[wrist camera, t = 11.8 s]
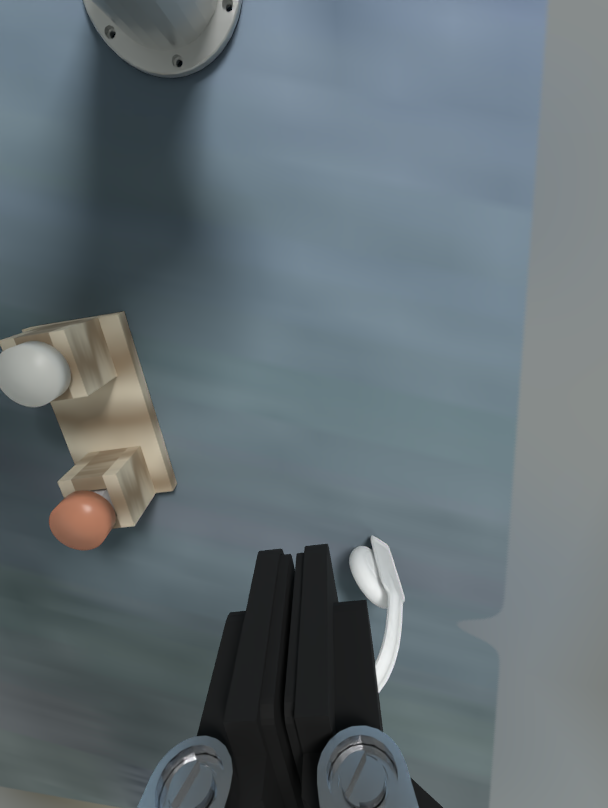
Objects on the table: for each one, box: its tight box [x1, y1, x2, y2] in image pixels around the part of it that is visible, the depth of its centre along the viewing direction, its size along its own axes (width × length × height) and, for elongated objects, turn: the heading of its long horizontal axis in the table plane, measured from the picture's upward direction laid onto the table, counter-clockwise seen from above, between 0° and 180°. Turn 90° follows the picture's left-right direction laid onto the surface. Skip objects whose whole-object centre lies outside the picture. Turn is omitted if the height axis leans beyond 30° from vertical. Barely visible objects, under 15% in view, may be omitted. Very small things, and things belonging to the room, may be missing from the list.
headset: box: [349, 536, 405, 693], centre depth 47 cm, size 20×7×18 cm, turn 135°
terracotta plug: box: [49, 488, 116, 550], centre depth 44 cm, size 5×5×8 cm
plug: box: [0, 341, 71, 407], centre depth 40 cm, size 5×5×8 cm
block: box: [0, 311, 177, 529], centre depth 44 cm, size 20×10×8 cm, turn 9°
